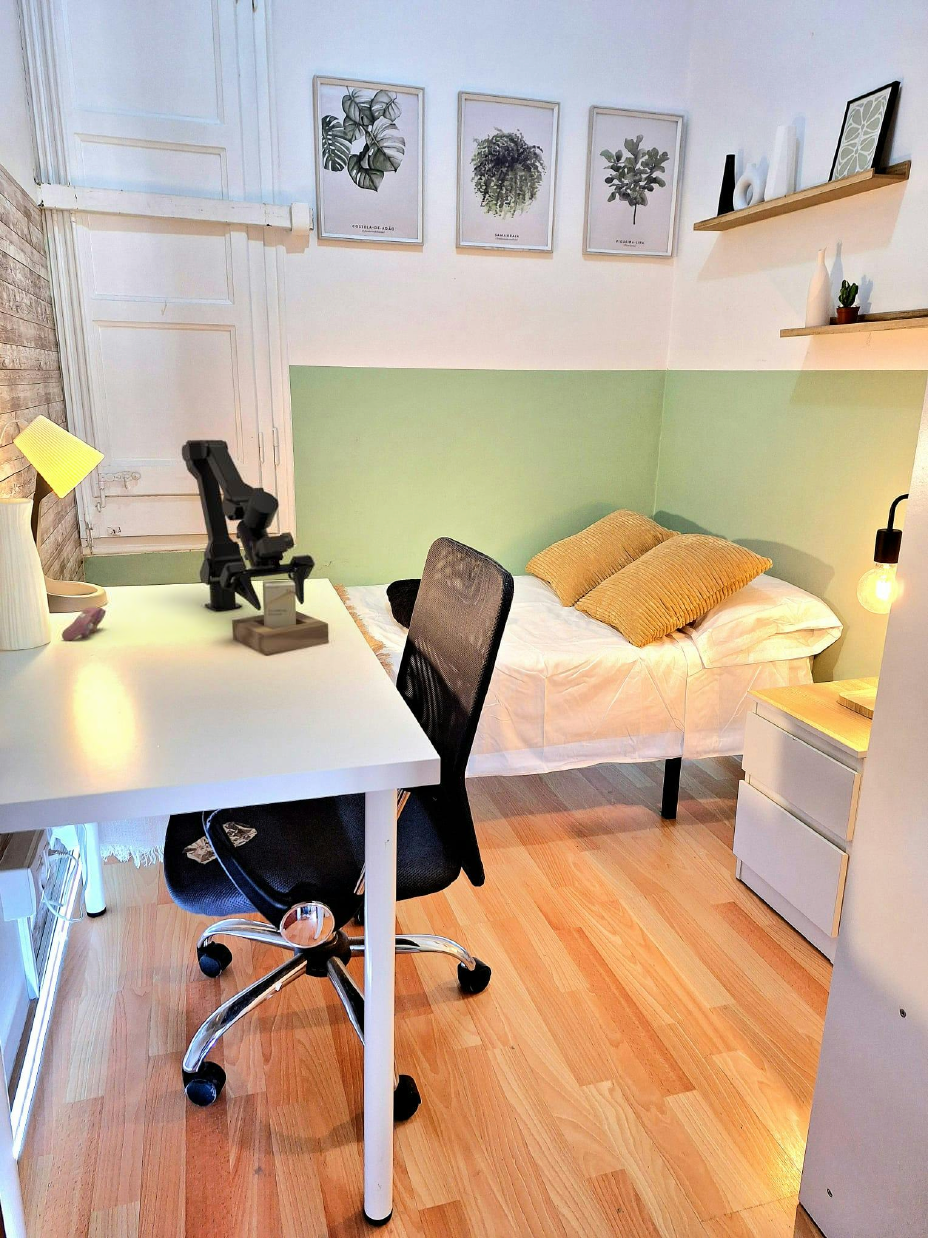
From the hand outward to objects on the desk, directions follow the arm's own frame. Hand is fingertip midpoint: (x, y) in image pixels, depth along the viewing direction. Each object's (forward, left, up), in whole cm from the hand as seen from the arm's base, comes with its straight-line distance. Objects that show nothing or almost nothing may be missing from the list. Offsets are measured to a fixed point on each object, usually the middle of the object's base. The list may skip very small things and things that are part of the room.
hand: (281, 606), depth 168 cm
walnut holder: (-1, 0, -7) cm, 8 cm away
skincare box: (-1, 0, -8) cm, 8 cm away
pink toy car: (-30, -29, -8) cm, 42 cm away
